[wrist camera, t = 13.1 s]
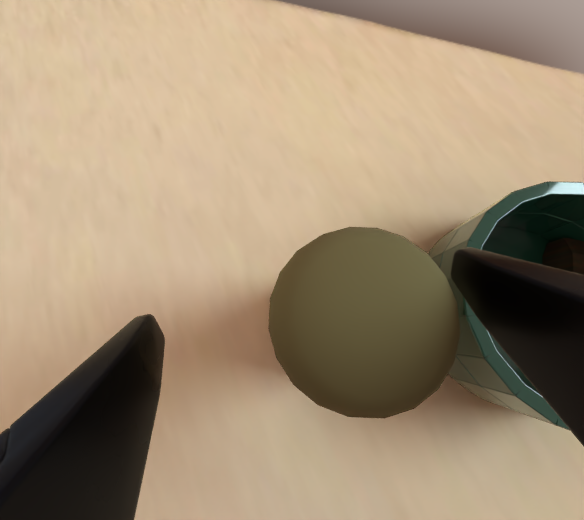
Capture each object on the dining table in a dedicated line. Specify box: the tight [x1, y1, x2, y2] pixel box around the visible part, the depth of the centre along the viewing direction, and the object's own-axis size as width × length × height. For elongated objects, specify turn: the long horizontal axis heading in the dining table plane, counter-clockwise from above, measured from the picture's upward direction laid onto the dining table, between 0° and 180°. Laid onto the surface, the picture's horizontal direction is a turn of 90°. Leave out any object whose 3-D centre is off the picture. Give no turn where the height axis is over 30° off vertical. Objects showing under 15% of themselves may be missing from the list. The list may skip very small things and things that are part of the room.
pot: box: [428, 182, 584, 431], centre depth 15 cm, size 11×11×5 cm
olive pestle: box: [269, 227, 460, 418], centre depth 12 cm, size 6×6×11 cm
